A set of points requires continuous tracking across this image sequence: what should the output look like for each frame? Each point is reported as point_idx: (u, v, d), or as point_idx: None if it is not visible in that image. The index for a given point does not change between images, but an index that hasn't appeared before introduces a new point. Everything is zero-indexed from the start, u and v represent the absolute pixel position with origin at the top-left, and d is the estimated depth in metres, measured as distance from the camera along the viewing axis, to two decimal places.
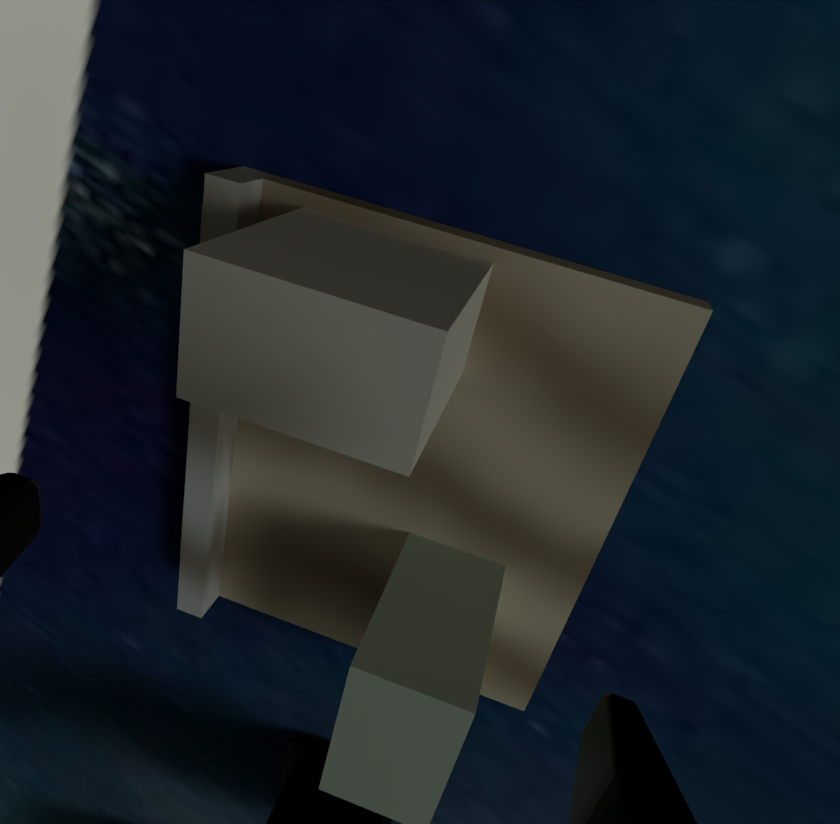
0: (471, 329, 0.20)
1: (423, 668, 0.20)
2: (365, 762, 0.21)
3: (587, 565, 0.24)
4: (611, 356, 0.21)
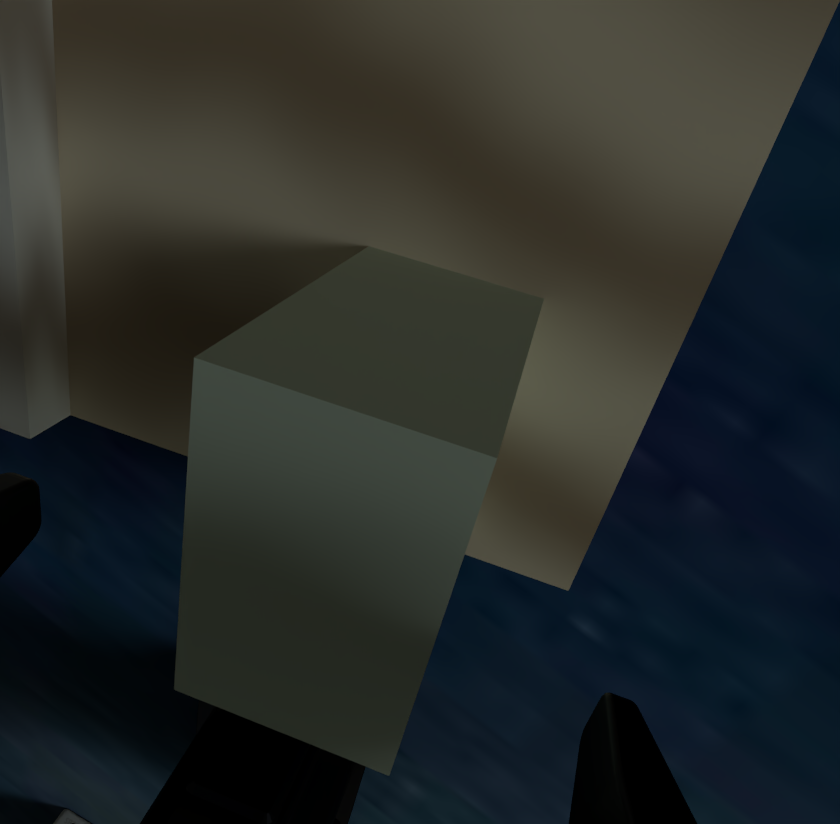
0: None
1: (373, 381, 0.09)
2: (256, 619, 0.10)
3: (701, 278, 0.13)
4: None
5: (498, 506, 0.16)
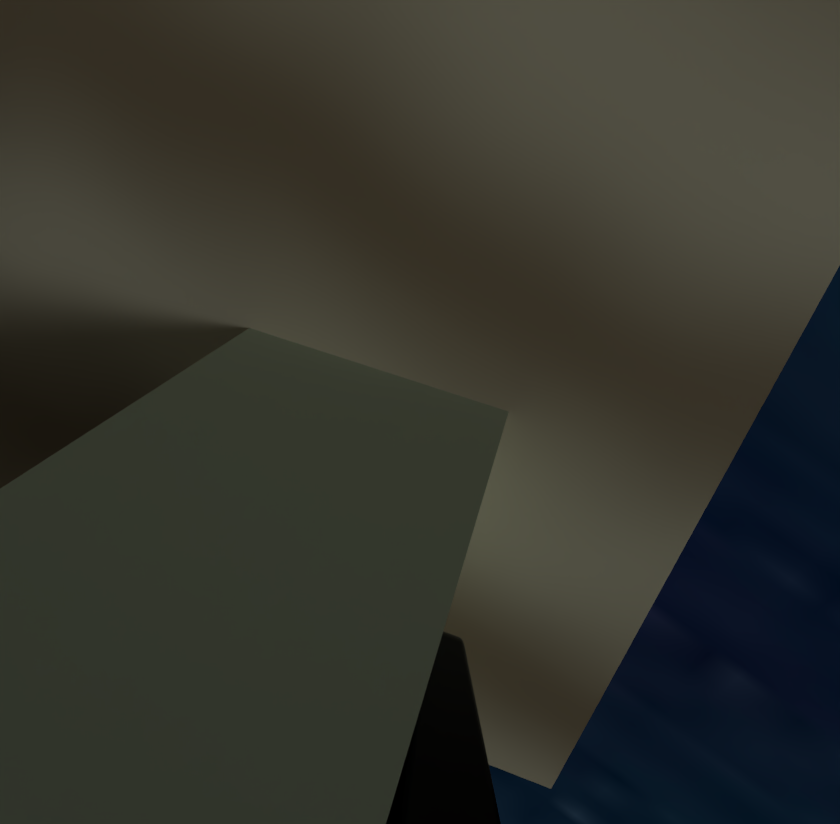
0: None
1: (93, 729, 0.04)
2: None
3: (753, 392, 0.08)
4: None
5: None
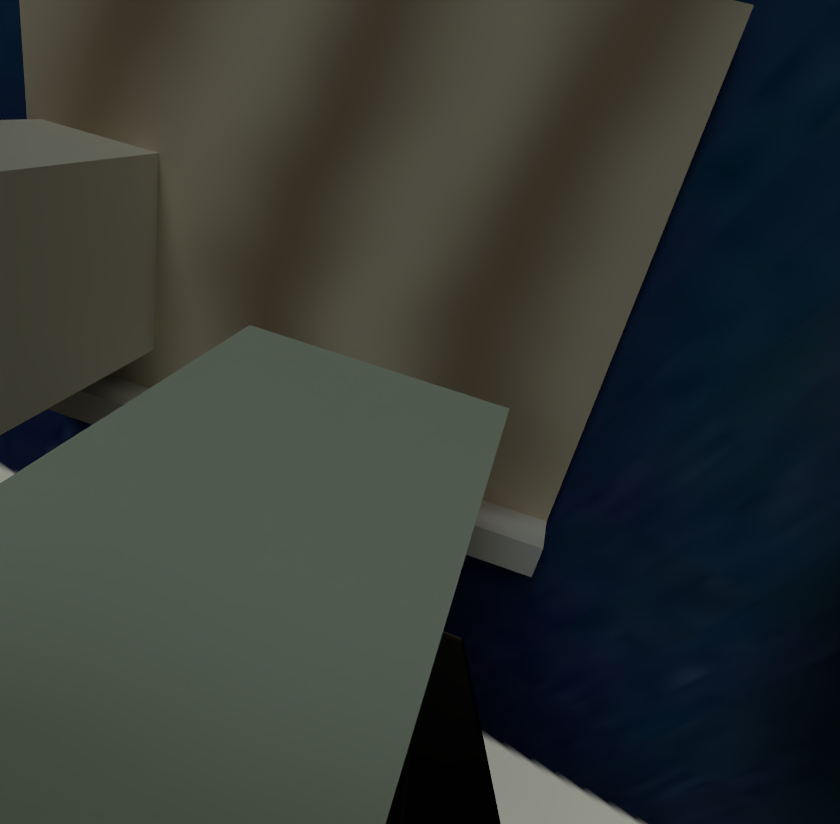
0: (68, 136, 0.18)
1: (93, 725, 0.04)
2: None
3: None
4: None
5: (632, 103, 0.16)
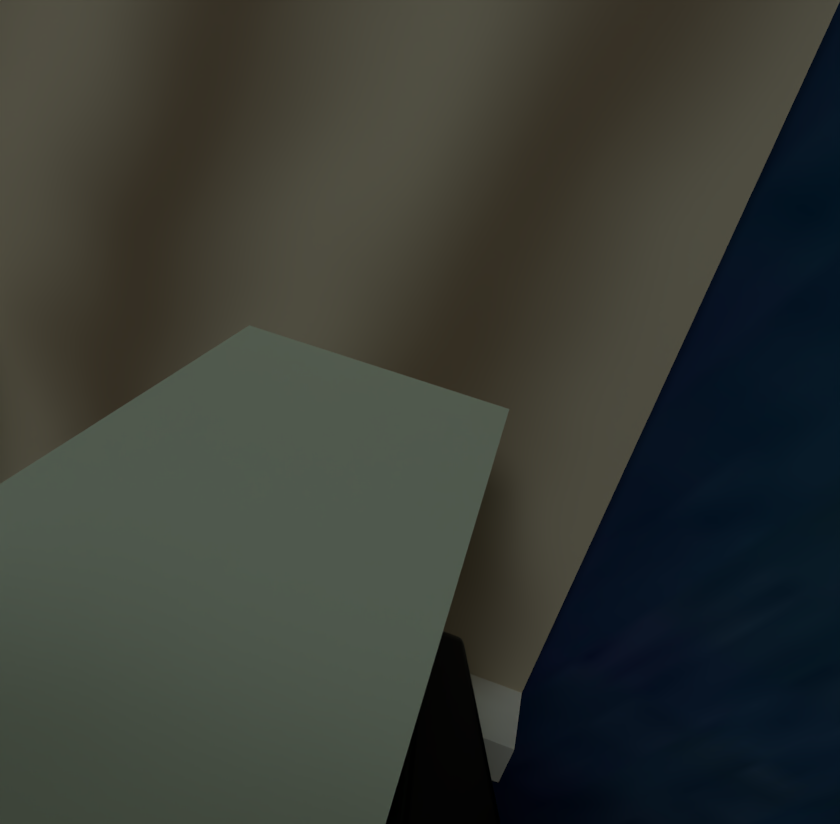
0: None
1: (92, 728, 0.04)
2: None
3: None
4: None
5: (656, 95, 0.09)
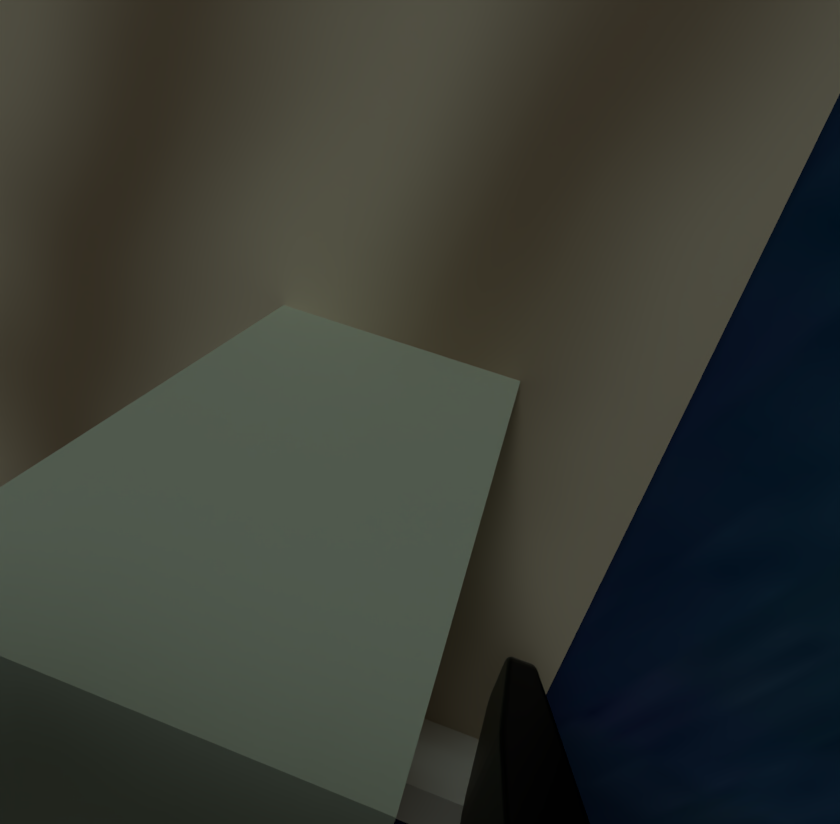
0: None
1: (197, 607, 0.05)
2: None
3: None
4: None
5: (671, 94, 0.08)
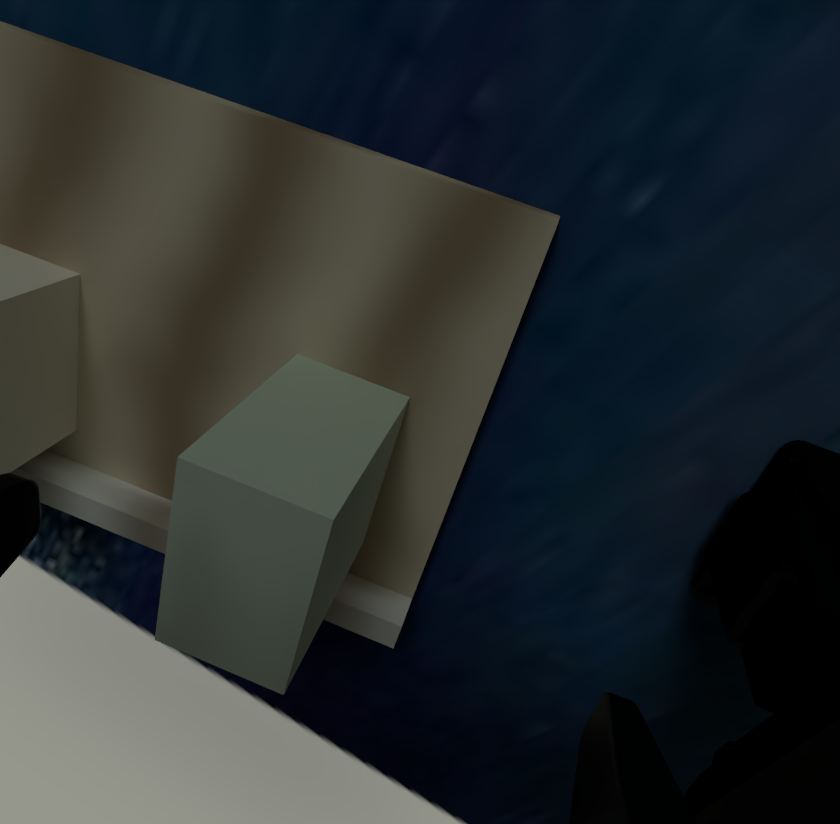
0: None
1: (276, 470, 0.16)
2: (206, 598, 0.17)
3: (271, 128, 0.18)
4: (20, 114, 0.20)
5: (468, 282, 0.19)
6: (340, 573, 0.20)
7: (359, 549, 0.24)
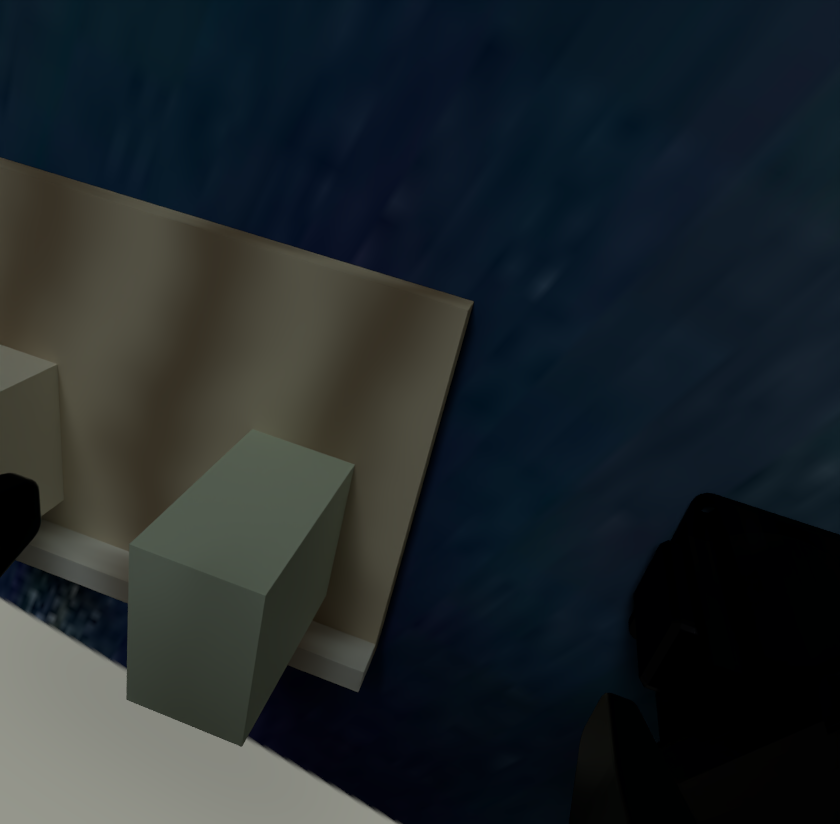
0: None
1: (218, 550, 0.18)
2: (166, 663, 0.19)
3: (211, 237, 0.21)
4: None
5: (395, 363, 0.21)
6: (297, 629, 0.22)
7: (322, 601, 0.26)
